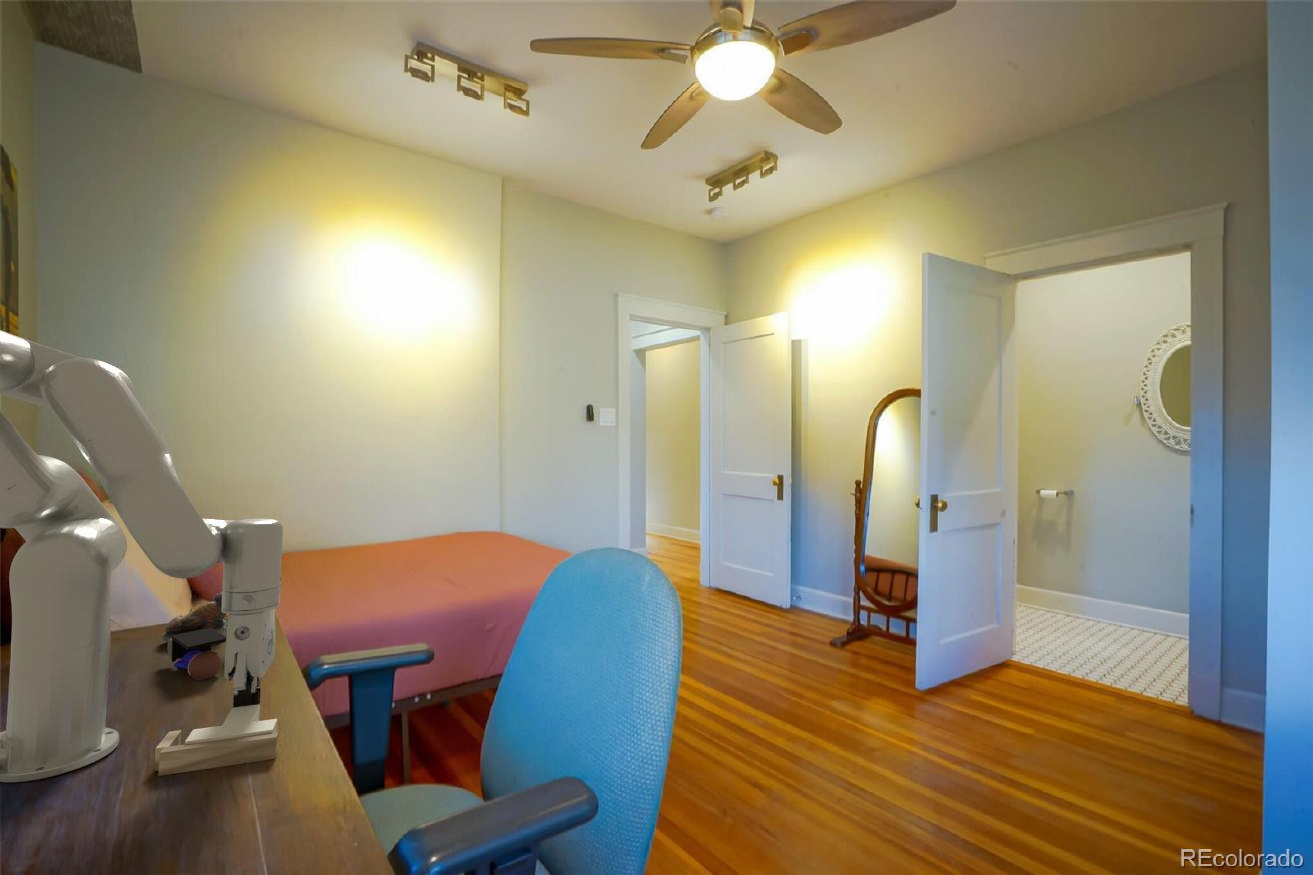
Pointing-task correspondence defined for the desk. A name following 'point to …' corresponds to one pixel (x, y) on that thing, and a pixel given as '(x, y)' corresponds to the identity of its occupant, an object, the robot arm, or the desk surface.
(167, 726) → the desk surface
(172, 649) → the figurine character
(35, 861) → the desk surface
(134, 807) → the desk surface
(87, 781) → the desk surface
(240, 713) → the t block
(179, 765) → the corner stop
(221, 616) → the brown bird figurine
